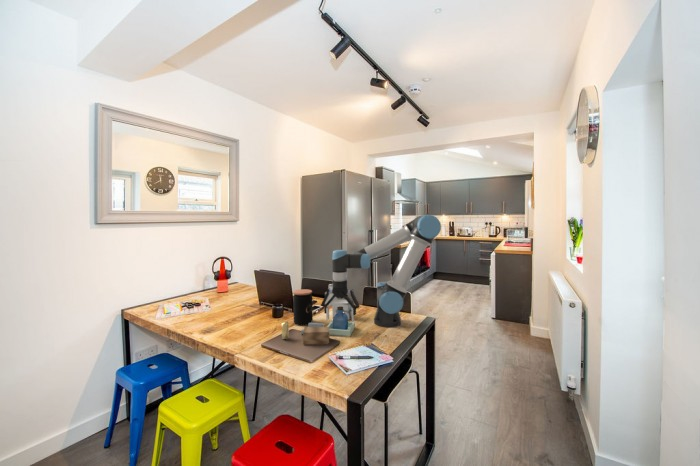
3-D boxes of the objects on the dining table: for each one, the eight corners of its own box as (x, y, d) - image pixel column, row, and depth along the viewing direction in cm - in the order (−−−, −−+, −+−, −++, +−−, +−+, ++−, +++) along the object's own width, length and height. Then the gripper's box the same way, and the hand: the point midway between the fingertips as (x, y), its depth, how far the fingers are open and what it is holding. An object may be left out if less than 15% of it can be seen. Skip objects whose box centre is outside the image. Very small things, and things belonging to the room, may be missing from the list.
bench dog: (289, 337, 145) (289, 321, 145) (287, 340, 142) (286, 324, 142) (283, 337, 146) (283, 321, 145) (280, 339, 143) (280, 323, 142)
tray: (354, 327, 158) (354, 322, 158) (349, 336, 146) (349, 330, 146) (331, 326, 161) (331, 320, 161) (324, 335, 148) (324, 329, 148)
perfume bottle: (347, 328, 155) (347, 306, 155) (344, 332, 150) (344, 309, 149) (336, 327, 157) (336, 305, 157) (332, 331, 151) (332, 308, 151)
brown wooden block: (329, 338, 144) (329, 326, 144) (329, 344, 137) (329, 331, 137) (304, 339, 144) (304, 327, 143) (303, 345, 137) (303, 332, 136)
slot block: (323, 328, 158) (323, 323, 158) (316, 336, 147) (316, 331, 147) (309, 327, 160) (309, 322, 160) (301, 335, 148) (301, 330, 148)
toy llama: (351, 321, 169) (351, 286, 168) (325, 317, 176) (324, 284, 176) (356, 317, 176) (356, 284, 175) (331, 314, 183) (330, 282, 182)
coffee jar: (308, 326, 161) (308, 293, 160) (290, 325, 163) (290, 293, 163) (315, 320, 171) (314, 289, 171) (297, 319, 174) (297, 288, 173)
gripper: (364, 279, 154) (365, 319, 154) (319, 277, 159) (319, 316, 160) (362, 282, 146) (362, 324, 147) (314, 280, 152) (315, 321, 152)
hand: (340, 320), depth 153 cm, fingers open, 13 cm apart
